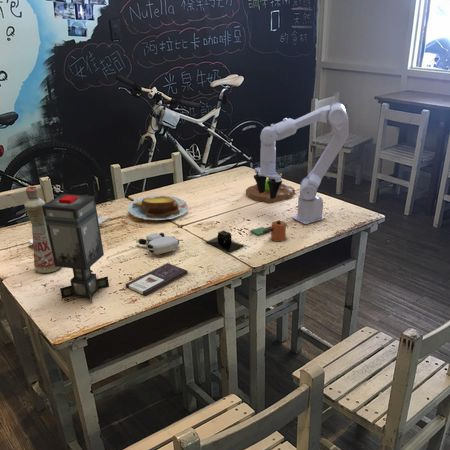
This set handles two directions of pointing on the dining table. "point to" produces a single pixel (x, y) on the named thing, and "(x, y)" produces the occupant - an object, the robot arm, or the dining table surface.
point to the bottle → (39, 232)
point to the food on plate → (157, 207)
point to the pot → (277, 231)
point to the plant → (282, 193)
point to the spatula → (260, 231)
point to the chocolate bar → (156, 279)
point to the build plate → (225, 242)
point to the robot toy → (159, 243)
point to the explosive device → (75, 241)
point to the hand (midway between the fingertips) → (267, 195)
